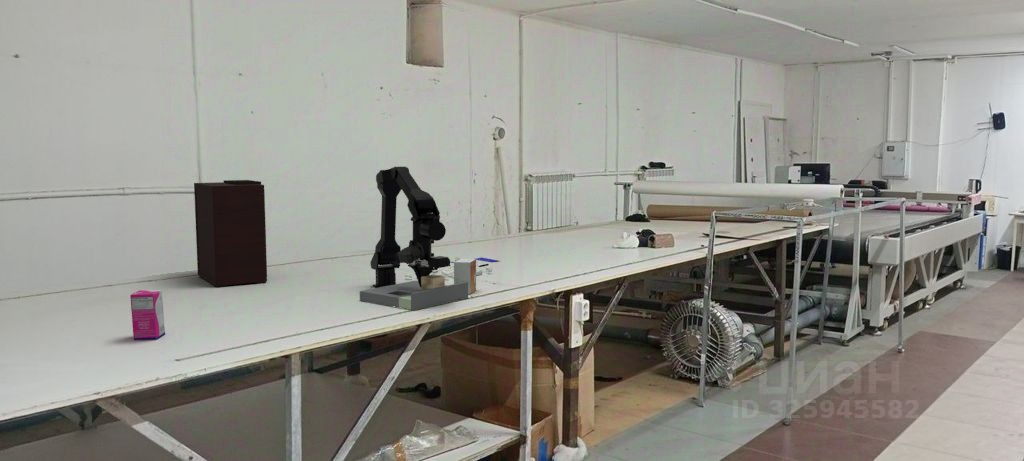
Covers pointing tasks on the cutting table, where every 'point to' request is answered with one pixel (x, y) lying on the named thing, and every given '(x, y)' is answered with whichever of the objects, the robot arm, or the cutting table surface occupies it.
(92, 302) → the cutting table surface
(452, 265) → the miniature set
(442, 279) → the maple block
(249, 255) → the tall dark brown box
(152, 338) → the supplement box
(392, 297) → the board
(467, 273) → the small box
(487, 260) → the booklet
